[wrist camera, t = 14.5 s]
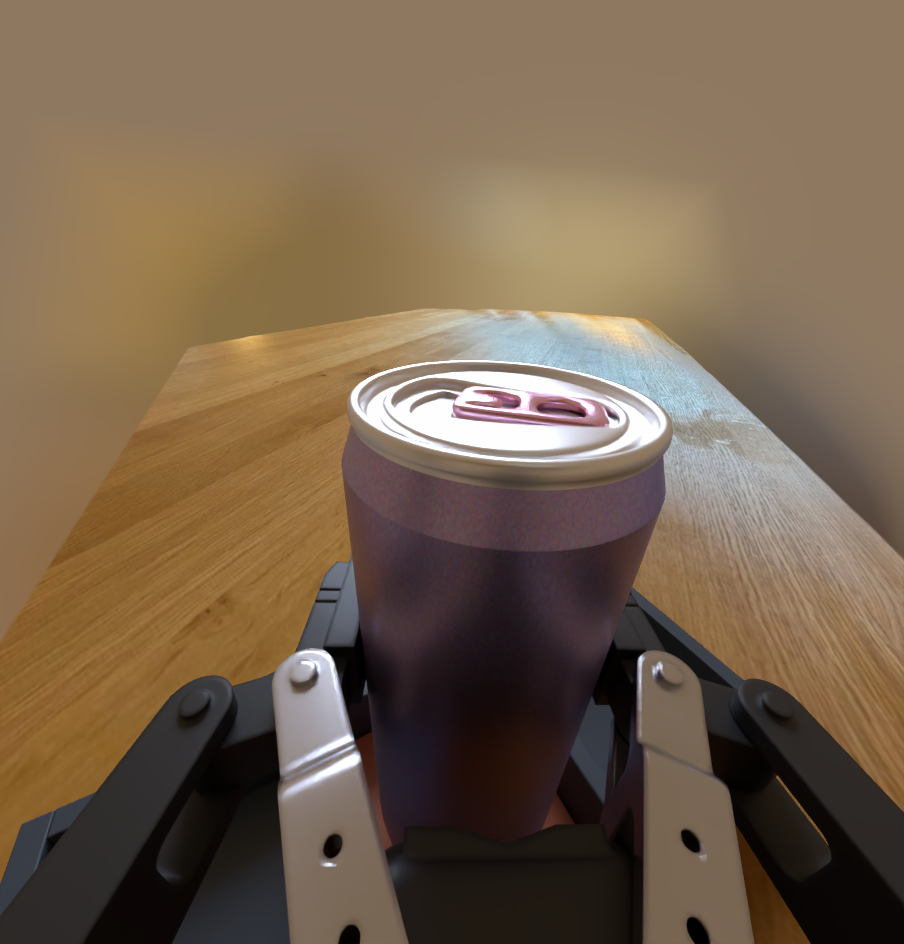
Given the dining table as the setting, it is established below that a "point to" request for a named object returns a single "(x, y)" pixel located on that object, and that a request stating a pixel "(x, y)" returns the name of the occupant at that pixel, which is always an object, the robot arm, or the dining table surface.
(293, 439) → the dining table surface
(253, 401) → the dining table surface
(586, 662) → the beverage can
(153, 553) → the dining table surface
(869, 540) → the dining table surface
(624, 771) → the robot arm
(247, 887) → the compartment tray
